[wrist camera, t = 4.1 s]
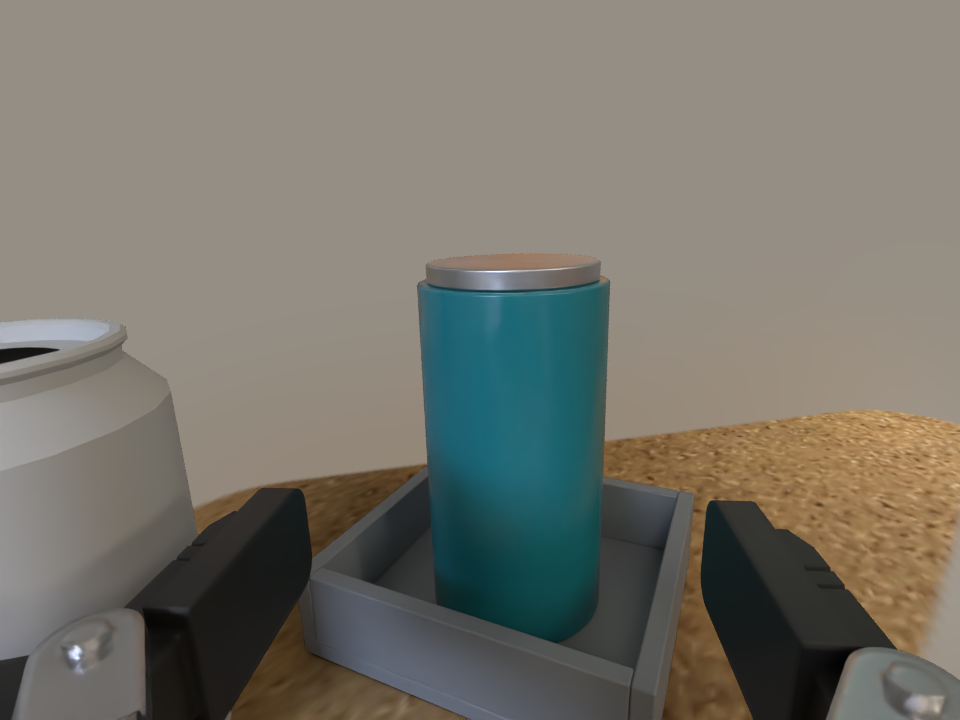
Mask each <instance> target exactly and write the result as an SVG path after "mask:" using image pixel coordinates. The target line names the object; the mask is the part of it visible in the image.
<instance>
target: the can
mask: <svg viewBox="0 0 960 720" xmlns="http://www.w3.org/2000/svg"><path fill="white" fill-rule="evenodd" d="M126 339H127V331H126V327H125V326H123V325H121V324H119V323H115V322H112V321H108V320H102V319H84V318H61V319H59V318H58V319H33V320H18V321H3V322H0V660H6V659H11V658H16V657H22V656H27V655H30V654H31V653H32V651H33V650H34V649H35V648H36V646H37V645H38V644H39V643H40V642H41V641H43V640H44V639H45V638H46V637H47V636H49V635H50V634H51V633H53V632H54V631H56V630H57V629H59V628H60V627H62V626H64V625H65V624H67V623H69V622H71V621H73V620H75V619H77V618H80V617H82V616H85V615H87V614H90V613H93V612H97V611H100V610H105V609H112V608H124V607H125V606H126V605H127V604H128V603H129V602H130V601H131V600H132V599H133V598H134V597H135V596H136V595H137V594H138V593H139V592H140V591H141V590H142V589H144V588H145V587H146V586H147V585H148V584H149V583H150V582H151V581H152V580H153V579H154V578H155V577H156V576H157V575H158V574H159V573H160V572H161V571H162V570H163V569H164V568H165V567H166V566H167V565H168V564H170V563H171V562H172V561H173V560H176V559H177V556H178V555H179V554H180V553H181V552H182V551H183V550H184V549H185V548H186V547H187V546H191V544H192V541H193V540H194V539H196V538H197V537H198V533H197V528H196V522H195V517H194V512H193V507H192V501H191V496H190V491H189V486H188V480H187V475H186V470H185V464H184V459H183V454H182V448H181V443H180V438H179V433H178V427H177V422H176V417H175V411H174V406H173V402H172V396H171V391H170V388H169V386H168V383H167V380H166V379H165V378H163V377H162V376H160V375H159V374H157V373H156V372H154V371H152V370H151V369H150V368H148V367H147V366H145V365H144V364H142V363H141V362H139V361H138V360H136V359H134V358H133V357H131V356H130V355H128V354H127V353H125V352H124V351H122V344H123V343H124V341H125V340H126ZM231 715H232V713H231V710H230V712H229V714H228V715H227V717H226V718H225V720H231Z"/></svg>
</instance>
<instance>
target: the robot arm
mask: <svg viewBox="0 0 960 720" xmlns="http://www.w3.org/2000/svg"><path fill="white" fill-rule="evenodd" d="M311 567H312V551H311V543H310V536H309V528H308V520H307V512H306V504H305V498H304V495H303V492H302V491H301V490H300V489H295V488H261V489H260V490H258V491H257V492H256V493H255V494H254V495H253V496H252V497H251V498H250V499H249V500H248V501H247V502H246V503H245V504H244V505H243V506H242V507H241V508H240V509H239V510H238V511H233V512H232V513H230V514H228V515H226V516H225V517H223V518H221V519H219V520H218V521H216V522H214V523H212V524H211V525H209V526H208V527H207V528H206V529H205V530H204V531H203V532H202V533H201V534H200V535H199V536H198V537H197V538H196V539H194V540H193V541H192V544H191V546H187V547H186V548H185V549H184V550H183V551H182V552H181V553H180V554H179V555H178V556H177V559H176V560H173V561H172V562H171V563H170V564H168V565H167V566H166V567H165V568H164V569H163V570H162V571H161V572H160V573H159V574H158V575H157V576H156V577H155V578H154V579H153V580H152V581H151V582H150V583H149V584H148V585H147V586H146V587H145V588H144V589H142V590H141V591H140V592H139V593H138V594H137V595H136V596H135V597H134V598H133V599H132V600H131V601H130V602H129V603H128V604H127V605H126V606H125V607H124V608H112V609H105V610H100V611H97V612H93V613H90V614H87V615H85V616H82V617H80V618H77V619H75V620H73V621H71V622H69V623H67V624H65V625H64V626H62V627H60V628H59V629H57V630H56V631H54V632H53V633H51V634H50V635H49V636H47V637H46V638H45V639H44V640H43V641H41V642H40V643H39V644H38V645H37V646H36V648H35V649H34V650H33V651H32V653H31V654H30V655H27V656H22V657H16V658H11V659H6V660H0V720H225V718H226V717H227V715H228V714H229V712H230V710H231V709H232V707H233V705H234V704H235V702H236V700H237V699H238V697H239V696H240V694H241V692H242V691H243V689H244V687H245V686H246V684H247V683H248V681H249V679H250V678H251V676H252V674H253V673H254V671H255V669H256V668H257V666H258V665H259V663H260V661H261V660H262V658H263V656H264V655H265V653H266V651H267V650H268V648H269V647H270V645H271V643H272V642H273V640H274V638H275V637H276V635H277V634H278V632H279V630H280V629H281V627H282V625H283V624H284V622H285V620H286V619H287V617H288V616H289V614H290V612H291V611H292V609H293V607H294V606H295V604H296V603H297V601H298V599H299V598H300V596H301V594H302V593H303V591H304V589H305V588H306V586H307V583H308V581H309V577H310V573H311ZM701 588H702V595H703V599H704V603H705V606H706V609H707V611H708V614H709V616H710V618H711V621H712V623H713V625H714V628H715V630H716V633H717V635H718V637H719V640H720V642H721V644H722V647H723V649H724V651H725V654H726V656H727V658H728V661H729V663H730V665H731V668H732V670H733V673H734V675H735V677H736V680H737V682H738V684H739V687H740V689H741V691H742V694H743V696H744V698H745V701H746V703H747V705H748V708H749V710H750V712H751V715H752V717H753V720H960V680H958V679H957V678H956V677H954V676H953V675H951V674H950V673H948V672H947V671H945V670H944V669H942V668H940V667H938V666H937V665H935V664H933V663H931V662H929V661H927V660H925V659H923V658H920V657H918V656H915V655H912V654H910V653H907V652H903V651H899V650H897V648H896V647H895V646H894V645H893V644H892V642H891V641H890V640H889V639H888V637H887V636H886V635H885V634H884V633H883V631H882V630H881V629H880V628H879V626H878V625H877V624H876V623H875V622H874V620H873V619H872V618H871V617H870V616H869V614H868V613H867V612H866V611H865V609H864V608H863V607H862V606H861V605H860V603H859V602H858V601H857V600H856V598H855V597H854V596H853V595H852V594H851V592H850V591H849V590H847V589H845V587H844V584H843V583H842V581H841V580H840V579H839V578H838V577H837V575H836V574H835V573H834V572H831V571H830V567H829V566H828V564H827V563H826V562H825V561H824V559H823V558H822V557H821V556H820V555H819V553H818V552H817V551H816V550H815V548H814V547H812V546H811V545H809V544H808V543H806V542H805V541H803V540H802V539H800V538H799V537H797V536H796V535H795V534H793V533H792V532H790V531H789V530H784V529H775V528H774V527H773V526H772V524H771V523H770V522H769V520H768V519H767V518H766V516H765V515H764V514H763V512H762V511H761V510H760V508H759V507H758V505H757V504H756V503H754V502H752V501H719V500H712V501H710V502H709V504H708V506H707V511H706V520H705V531H704V542H703V553H702V563H701Z"/></svg>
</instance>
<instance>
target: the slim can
mask: <svg viewBox="0 0 960 720" xmlns="http://www.w3.org/2000/svg"><path fill="white" fill-rule="evenodd" d="M600 265H601V262H600V260H599V259H597V258H595V257H590V256H582V255H568V254H496V255H477V256H464V257H453V258H445V259H439V260H434V261H431V262H428V263H427V264H426V279H425V280H423V281H421V282H419V283H418V285H417V292H418V308H419V325H420V342H421V359H422V377H423V394H424V411H425V426H426V427H425V428H426V445H427V462H428V479H429V496H430V513H431V530H432V547H433V565H434V582H435V596H436V602H437V605H439V606H442V607H445V608H449V609H452V610H455V611H458V612H461V613H464V614H467V615H470V616H473V617H476V618H479V619H482V620H485V621H489V622H492V623H495V624H498V625H501V626H504V627H507V628H510V629H513V630H516V631H519V632H522V633H525V634H529V635H532V636H535V637H538V638H541V639H544V640H547V641H550V642H553V643H559V642H562V641H564V640H566V639H568V638H570V637H572V636H573V635H575V634H576V633H577V632H579V631H580V630H581V629H582V628H583V627H584V626H586V625H587V623H588V622H589V621H590V619H591V618H592V617H593V615H594V613H595V611H596V609H597V605H598V601H599V578H600V550H601V522H602V494H603V466H604V437H605V409H606V407H605V406H606V381H607V379H606V378H607V353H608V325H609V323H608V322H609V295H610V281H609V279H608V278H606V277H603V276H601V275H600Z"/></svg>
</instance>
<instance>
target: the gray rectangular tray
mask: <svg viewBox="0 0 960 720" xmlns="http://www.w3.org/2000/svg"><path fill="white" fill-rule="evenodd" d="M694 496H695V495H694V494H693V493H688V492H683V491H679V492H678V491H677V490H672V489H667V488H661V487H656V486H650V485H645V484H639V483H634V482H628V481H623V480H617V479H612V478H606V477H603V494H602V522H601V550H600V578H599V601H598V605H597V609H596V611H595V613H594V615H593V617H592V618H591V619H590V621H589V622H588V623H587V625H586V626H584V627H583V628H582V629H581V630H580V631H579V632H577V633H576V634H575V635H573V636H572V637H570V638H568V639H566V640H564V641H562V642H559V643H553V642H550V641H547V640H544V639H541V638H538V637H535V636H532V635H529V634H525V633H522V632H519V631H516V630H513V629H510V628H507V627H504V626H501V625H498V624H495V623H492V622H489V621H485V620H482V619H479V618H476V617H473V616H470V615H467V614H464V613H461V612H458V611H455V610H452V609H449V608H445V607H442V606H439V605H437V602H436V596H435V582H434V565H433V547H432V530H431V513H430V496H429V479H428V465H427V466H426V467H424V468H423V469H422V470H421V471H420V472H418V473H417V474H416V475H415V476H413V477H412V478H411V479H410V480H408V481H407V482H406V483H405V484H403V485H402V486H401V487H400V488H399V489H397V490H396V491H395V492H394V493H392V494H391V495H390V496H389V497H387V498H386V499H385V500H384V501H382V502H381V503H380V504H379V505H378V506H376V507H375V508H374V509H373V510H371V511H370V512H369V513H368V514H366V515H365V516H364V517H363V518H361V519H360V520H359V521H358V522H357V523H355V524H354V525H353V526H352V527H350V528H349V529H348V530H347V531H345V532H344V533H343V534H342V535H340V536H339V537H338V538H337V539H336V540H334V541H333V542H332V543H331V544H329V545H328V546H327V547H326V548H324V549H323V550H322V551H321V552H319V553H318V554H317V555H316V556H315V557H313V558H312V567H311V573H310V577H309V581H308V583H307V586H306V588H305V589H304V591H303V593H302V594H301V596H300V598H299V607H300V614H301V621H302V628H303V635H304V636H305V637H304V642H305V649H306V651H308V652H310V653H313V654H315V655H317V656H320V657H322V658H325V659H327V660H329V661H332V662H334V663H337V664H339V665H341V666H344V667H346V668H349V669H351V670H353V671H356V672H358V673H361V674H363V675H365V676H368V677H370V678H373V679H375V680H377V681H380V682H382V683H385V684H387V685H390V686H392V687H394V688H397V689H399V690H402V691H404V692H406V693H409V694H411V695H414V696H416V697H418V698H421V699H423V700H426V701H428V702H430V703H433V704H435V705H438V706H440V707H442V708H445V709H447V710H450V711H452V712H454V713H457V714H459V715H462V716H464V717H466V718H469V719H471V720H662V715H663V709H664V704H665V698H666V692H667V686H668V680H669V674H670V668H671V662H672V657H673V651H674V645H675V639H676V633H677V627H678V621H679V616H680V610H681V604H682V598H683V592H684V586H685V580H686V575H687V569H688V563H689V554H690V542H691V531H692V519H693V507H694Z"/></svg>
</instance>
